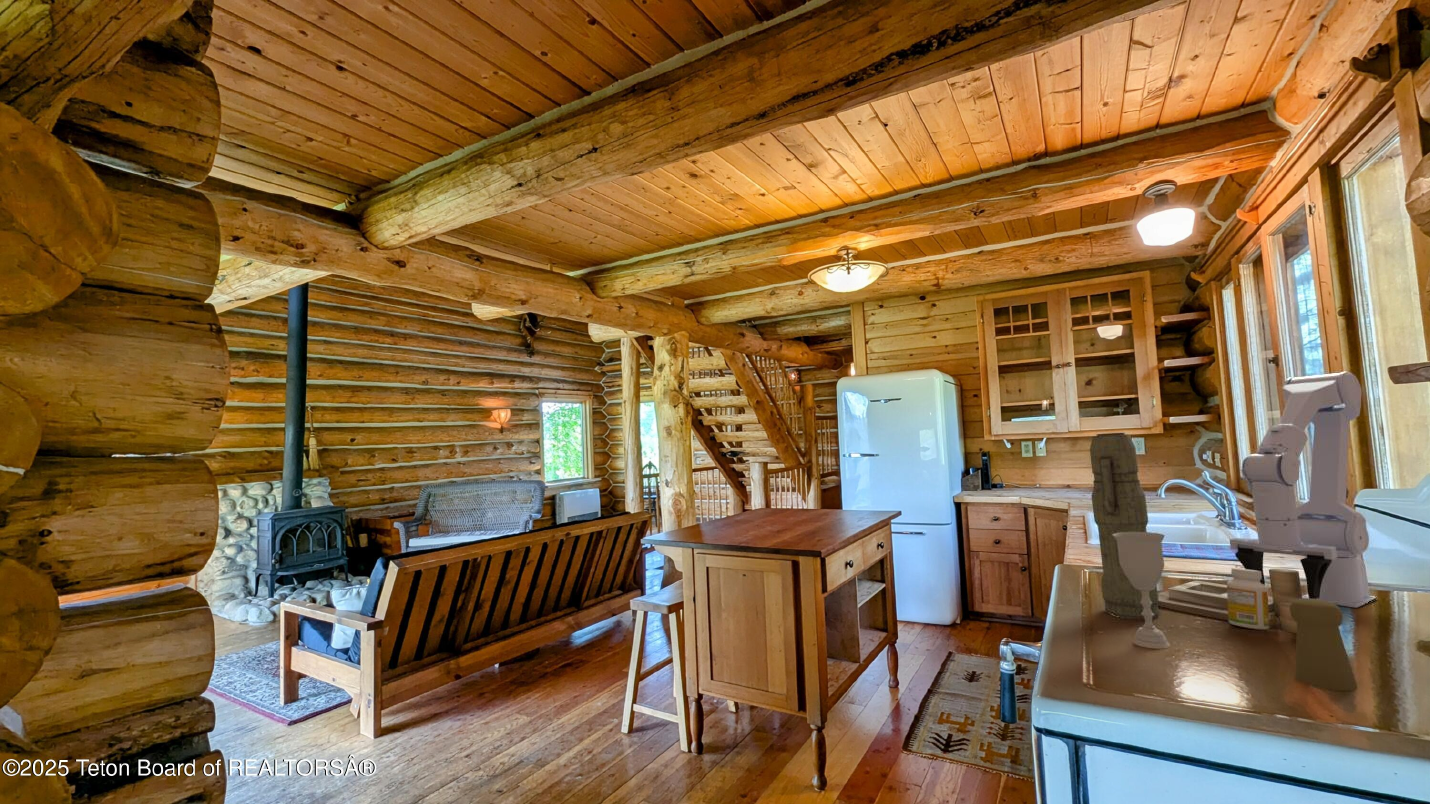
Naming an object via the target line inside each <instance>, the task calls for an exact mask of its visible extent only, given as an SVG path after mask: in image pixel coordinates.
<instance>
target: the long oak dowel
mask: <svg viewBox="0 0 1430 804" xmlns="http://www.w3.org/2000/svg"><path fill="white" fill-rule="evenodd" d="M1268 575H1269V582H1270V588H1271V589H1270V590H1271V595H1272V596H1271V597H1272V598H1273V605H1274V610H1273V611H1274V615H1275V616H1277V617H1280V615H1279V607H1278V604H1279V603H1292V602H1293V601H1294V600H1297V599H1302V596H1303V593H1302V585H1301V578H1300V572H1299V571H1298V570H1296V569H1291V568H1270V569H1268Z"/></svg>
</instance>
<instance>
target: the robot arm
mask: <svg viewBox="0 0 1430 804" xmlns="http://www.w3.org/2000/svg"><path fill="white" fill-rule="evenodd" d="M1281 389H1282V390H1281V391H1282V396H1283V400H1284V402H1285V407H1284V408H1283V413H1282V415H1281V418H1280V421H1279V423H1278V424H1274V425H1272V426H1270V427H1269V428H1268V430H1267V431H1266V433H1265V434H1264V437H1263V438H1262V440H1261V442H1260V444H1259V446H1258V448H1257V449H1256V452H1255V453H1252V454H1249V455H1248V456H1246V457H1245V458H1244V459H1243V461H1242V464H1241V470H1240V471H1241V475H1242V478H1243V479H1244V481H1245V483H1246V486H1247V491H1248V492H1249V493H1248V494H1251V495H1252V501H1253V510H1254V516H1255V523H1256V525H1255V526H1256V532H1257V538H1241V537H1232V538H1229V539H1228V540H1229V546H1230V550H1237V552H1234V555H1235V558H1237V560H1238V561H1239V562H1240V564H1241V565H1242V566H1243V569H1248V570H1256V571H1261V575H1262V578H1261V580H1260V583H1261V584H1264V585H1265V586H1266V581H1265V576H1264V553H1273V554H1281V555H1290V556H1291V555H1292V556H1301V557H1302V556H1303V557H1304V558H1301V559H1300V563H1301V566H1302V569H1303V572H1304V576H1305V579H1306V580H1305V581H1306V589H1307V591H1306V592H1307V593H1306V594H1304V595H1302V599H1306V598H1310V599H1320V600H1325V601H1329V602H1332V603H1334V604H1335V605H1337V606H1341V607H1350V608H1354V609H1355V608H1359V607H1361V606H1364V605H1366V604H1368V602H1369V601H1371V600H1372V599H1374V598H1376V597H1377V596H1376V595H1371V593H1370V588H1369V583H1368V582H1369V581H1368V580H1369V579H1368V575H1367V567H1366V565H1365V562H1364V561H1363V559H1361V557H1359V556H1362V554H1364V553H1365V552H1366V551H1367V550H1368V548H1369V544H1370V536H1369V532H1368V530H1367V520H1366V517H1365V516H1364V515H1363V514H1362V513H1360V512H1359V511H1357V510H1356V509H1354V508H1352V507H1351V506H1349V505H1347V504H1346V503H1347V502H1346V500H1347V483H1348V480H1347V479H1348V463H1349V462H1348V461H1349V441H1350V429H1351V428H1350V426H1351V425H1350V424H1351V421H1353V420H1355V419H1357V418H1358V417H1360V415H1361V414H1360V413H1361V410H1362V409H1361V408H1362V393H1363V392H1362V391H1363V390H1362V386H1361V384H1360V382H1359V379H1358V378H1357V376H1356V375H1355V374H1354V373H1352V372H1350V371H1342V372H1338V373H1337V372H1336V373H1327V374H1317V375H1307V376H1298V377H1297V376H1296V377H1295V376H1293V377H1292V376H1291V377H1287V379H1285V381H1284V383H1283V384H1282V388H1281ZM1310 423H1311V424H1313V441H1312V457H1311V470H1310V471H1311V473H1310V490H1309V500H1308V501H1306V502H1305V503H1302V504H1301V505H1299V506H1297V504H1296V502H1297V501H1296V497H1295V490H1294V489H1295V488H1294V487H1295V486H1294V485H1295V484H1296V483H1297V482H1298V480H1299V479H1300V466H1301V460H1300V456H1301V454H1302V452H1303V450H1304V448H1305V447H1306V444H1307V442H1308V435H1307V433H1306V432H1305V429H1306V428H1307V427H1308V426H1309V424H1310ZM1375 596H1376V597H1375ZM1371 602H1372V601H1371ZM1365 603H1366V604H1365ZM1369 603H1370V602H1369Z"/></svg>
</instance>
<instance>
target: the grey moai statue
mask: <svg viewBox="0 0 1430 804" xmlns="http://www.w3.org/2000/svg"><path fill="white" fill-rule="evenodd" d="M1089 455H1090V456H1089V457H1090V465H1091V471H1092V472H1091V473H1092V474H1093V481H1092V482H1093V489H1092V492H1091V504H1092V511H1093V520H1094V523H1095V524H1096V526H1097V530H1098V539H1099V547H1100V557H1101V564H1102V565H1101V567H1102V573H1103V574H1102V576H1101V581H1100V583H1101V592H1102V594H1101V595H1102V599H1103V600H1104V607H1105V608H1104V611H1105V610H1106V611H1105V613H1106V612H1107V613H1110V614H1113V615H1115V616H1119V617H1124V618H1129V619H1128V620H1132V619H1138V620H1137V621H1145V620H1144V619H1145V618H1144V616H1143V615H1142V614H1141V613H1142V612H1143V609H1144V607H1143V605H1142V604H1141V603H1140V602H1141V600H1142V593H1141V590H1138V589H1136V588H1134V587H1133V585H1132V584H1131V582H1130V581H1129V579H1128V578H1127V576H1126V575H1125V573H1124V571H1123V569H1122V567H1121V565H1120V562H1119V553H1118V545H1117V541H1116V539H1115V538H1114V536H1113V534H1115V533H1120V532H1147V531H1148V530H1147V525H1148V524H1149V516H1148V509H1147V507H1148V506H1147V500H1146V494H1145V492H1144V490H1143V488H1142V486H1141V482H1140V481H1141V480H1140V479H1139V477H1138V474H1139V465H1138V459H1137V458H1138V457H1137V449H1136V446H1135V443H1134V441H1133V440H1132V437H1131V435H1130V434H1125V432H1109V433H1097V434H1096V436H1092V439H1091V442H1090V447H1089ZM1158 593H1159V592H1158V585H1157V586H1156V588H1155V589H1154V590H1151V591H1149V598H1150V601H1151V602H1152V604H1151V607H1150V609H1151V611H1152V613H1153V614H1154V615H1153V616H1152V618H1155V619H1157V618H1156V617H1158V616H1159V617H1160V611H1159V607H1158V602H1159V600H1158ZM1107 613H1106V614H1107ZM1115 616H1114V617H1115ZM1119 617H1118V618H1119ZM1159 617H1158V618H1159ZM1124 618H1123V619H1124Z"/></svg>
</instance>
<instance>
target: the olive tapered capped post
mask: <svg viewBox="0 0 1430 804" xmlns="http://www.w3.org/2000/svg"><path fill="white" fill-rule="evenodd" d="M1290 614H1291V616H1292V618H1293V619H1294V620H1295V621H1296V622H1297V633H1296V646H1295V647H1296V649H1295V671H1294V672H1295V673H1294V674H1295V675H1294V676H1295V677H1294V678H1295V680H1297V681H1299V682H1300V683H1302V684H1305V685H1308V686H1310V685H1311V687H1314V688H1318V689H1325V690H1328V691H1329V690H1330V691H1337V692H1338V691H1340V692H1342V691H1344V692H1345V691H1346V692H1348V691H1354V690H1356V689H1357V688H1358V684H1357V681H1356V678H1355V675H1354V673H1353V669H1352V667H1351V662H1350V660H1349V656H1348V653H1347V650H1346V647H1345V644H1344V641H1343V636H1342V634H1341V631H1340V626H1341V625H1342V624H1343V619H1344V618H1343V617H1344V616H1343V612H1342V610H1341V609H1340V607H1339V605H1335V604H1334V603H1332V602H1329V601H1325V600H1320V599H1310V598H1306V599H1297V600H1294V601H1293V602H1292V603H1291V605H1290Z"/></svg>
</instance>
